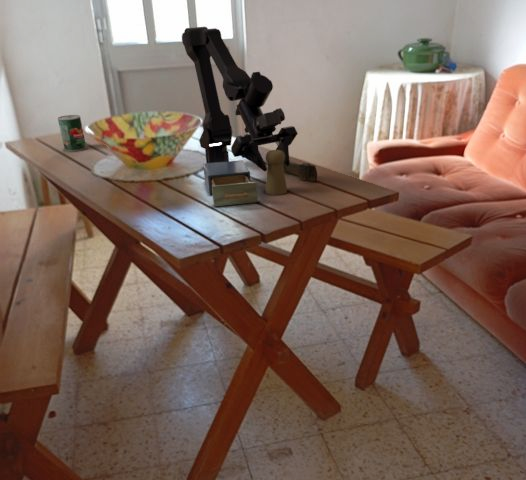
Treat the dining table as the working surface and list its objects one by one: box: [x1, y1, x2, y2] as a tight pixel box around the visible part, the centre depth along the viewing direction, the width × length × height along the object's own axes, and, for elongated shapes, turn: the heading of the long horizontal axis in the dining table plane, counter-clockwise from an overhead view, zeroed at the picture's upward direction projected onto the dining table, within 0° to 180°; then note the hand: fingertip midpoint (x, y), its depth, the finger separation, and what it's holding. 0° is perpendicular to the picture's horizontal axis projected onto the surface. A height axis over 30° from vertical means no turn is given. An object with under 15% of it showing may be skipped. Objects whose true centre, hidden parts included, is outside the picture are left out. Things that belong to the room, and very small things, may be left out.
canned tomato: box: [57, 114, 87, 152], centre depth 203 cm, size 8×8×11 cm
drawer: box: [211, 174, 258, 207], centre depth 149 cm, size 16×12×5 cm
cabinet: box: [202, 159, 251, 197], centre depth 159 cm, size 13×12×6 cm
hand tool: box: [283, 161, 318, 182], centre depth 165 cm, size 19×4×5 cm, turn 36°
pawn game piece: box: [265, 149, 288, 196], centre depth 152 cm, size 6×6×11 cm
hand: (277, 168), depth 151 cm, fingers open, 7 cm apart
